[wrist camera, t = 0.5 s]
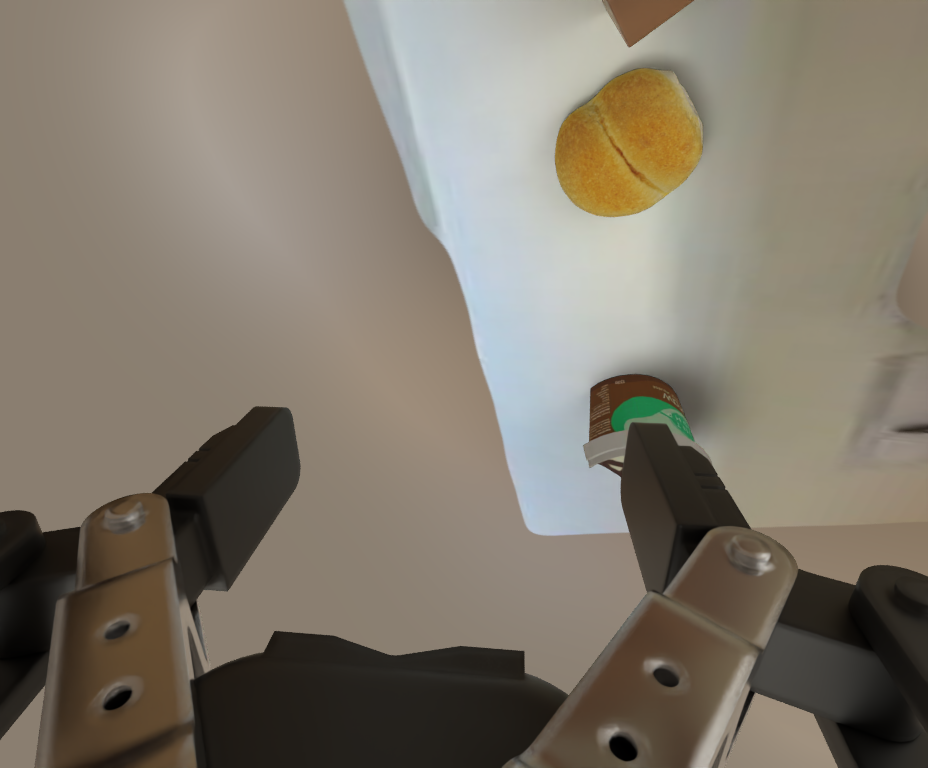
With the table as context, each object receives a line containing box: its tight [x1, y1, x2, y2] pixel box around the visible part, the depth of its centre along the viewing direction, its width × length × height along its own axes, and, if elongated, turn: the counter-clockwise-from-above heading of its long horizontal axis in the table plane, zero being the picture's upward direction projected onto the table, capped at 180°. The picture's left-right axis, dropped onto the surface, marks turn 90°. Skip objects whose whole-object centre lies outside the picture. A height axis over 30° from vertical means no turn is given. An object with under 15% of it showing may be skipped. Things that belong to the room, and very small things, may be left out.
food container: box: [583, 374, 712, 477], centre depth 45 cm, size 12×6×10 cm, turn 55°
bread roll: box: [555, 68, 703, 217], centre depth 33 cm, size 8×9×4 cm
